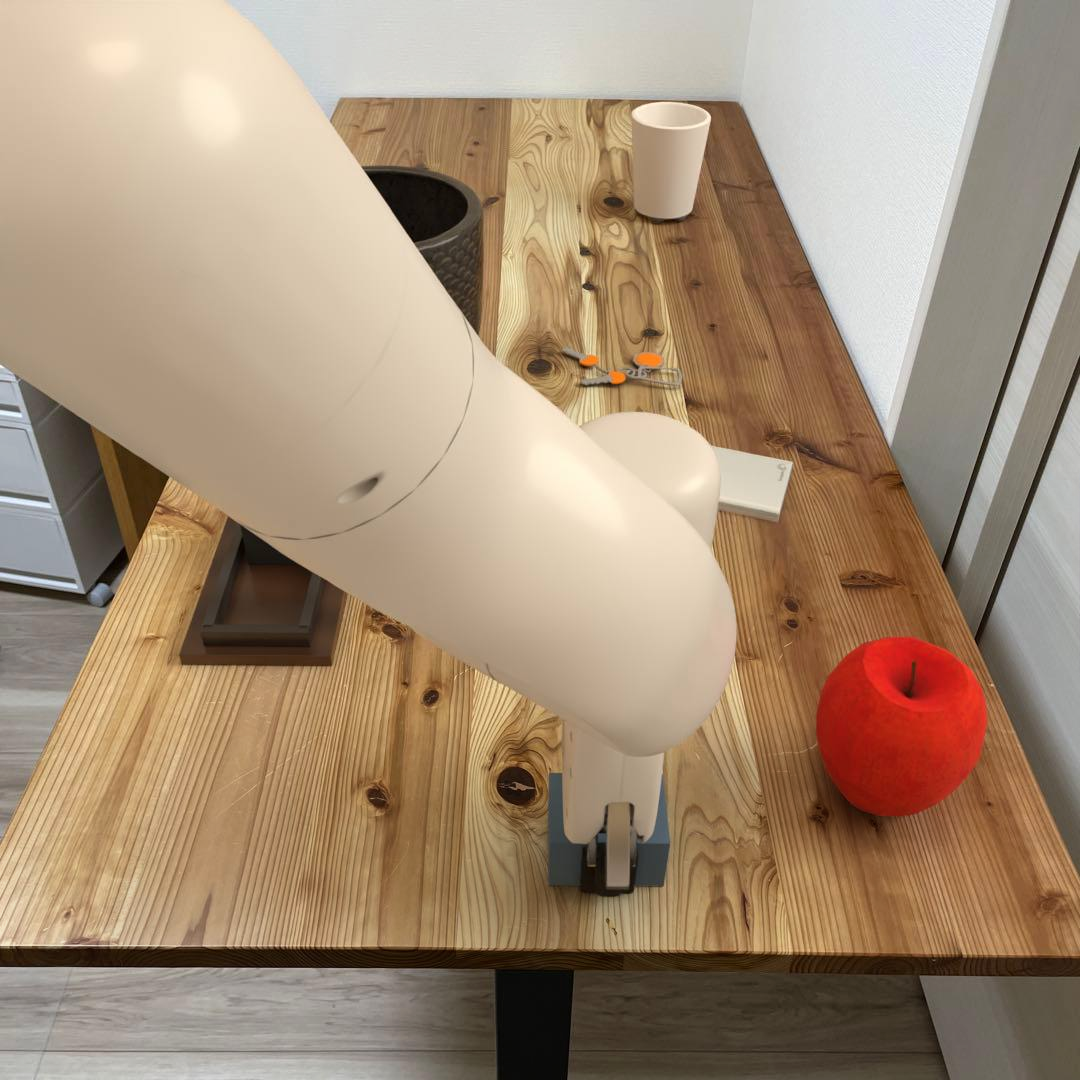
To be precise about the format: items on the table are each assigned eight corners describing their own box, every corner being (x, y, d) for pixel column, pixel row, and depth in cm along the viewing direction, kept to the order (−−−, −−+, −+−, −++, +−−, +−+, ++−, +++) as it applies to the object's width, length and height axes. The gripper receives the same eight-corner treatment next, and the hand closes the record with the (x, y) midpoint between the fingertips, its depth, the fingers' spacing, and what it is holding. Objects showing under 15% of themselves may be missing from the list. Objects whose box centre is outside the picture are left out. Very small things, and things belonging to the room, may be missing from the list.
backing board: (332, 665, 78) (328, 641, 76) (181, 664, 78) (174, 640, 76) (364, 504, 93) (361, 481, 91) (237, 503, 92) (232, 480, 91)
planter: (262, 438, 100) (226, 246, 88) (319, 334, 115) (295, 158, 103) (470, 454, 98) (462, 261, 86) (500, 346, 113) (497, 169, 101)
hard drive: (794, 460, 97) (660, 432, 100) (780, 513, 91) (638, 482, 94) (791, 474, 98) (659, 447, 101) (777, 528, 92) (637, 497, 95)
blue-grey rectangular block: (657, 817, 68) (663, 773, 65) (663, 886, 65) (670, 843, 62) (547, 816, 68) (548, 772, 65) (548, 885, 64) (549, 842, 62)
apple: (928, 728, 74) (976, 601, 66) (977, 852, 67) (1038, 725, 59) (785, 731, 74) (817, 603, 66) (819, 856, 66) (859, 728, 58)
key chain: (683, 356, 112) (683, 349, 111) (681, 394, 106) (682, 387, 106) (562, 347, 113) (562, 340, 113) (554, 384, 108) (554, 377, 107)
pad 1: (311, 565, 85) (304, 521, 82) (248, 564, 85) (238, 520, 82) (325, 510, 90) (318, 467, 87) (265, 509, 90) (257, 467, 87)
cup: (663, 236, 135) (673, 134, 127) (609, 211, 140) (614, 112, 132) (715, 215, 140) (727, 116, 132) (661, 192, 146) (669, 96, 137)
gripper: (547, 534, 61) (543, 739, 73) (550, 778, 48) (544, 979, 60) (679, 535, 61) (653, 740, 73) (716, 779, 48) (678, 980, 60)
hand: (604, 846), depth 66 cm, fingers closed on blue-grey rectangular block, 5 cm apart
